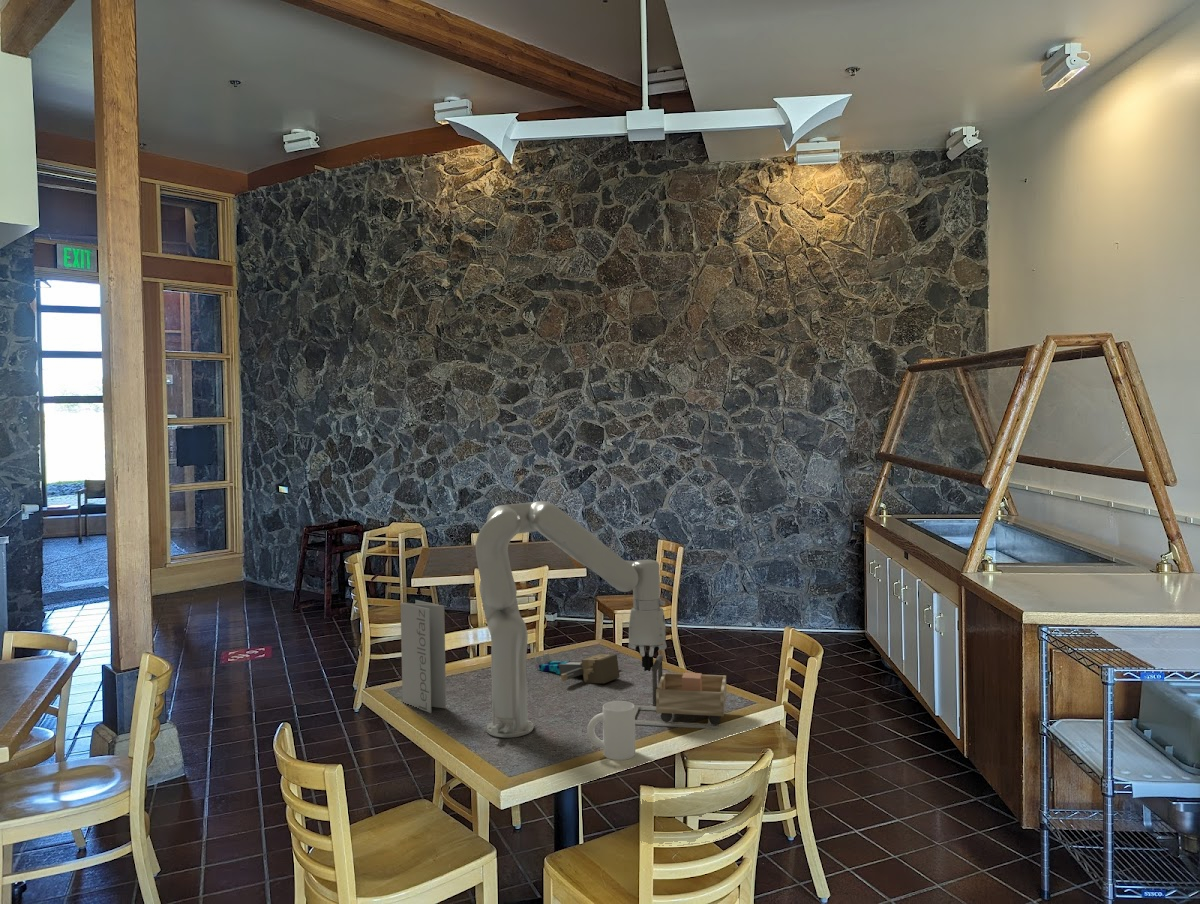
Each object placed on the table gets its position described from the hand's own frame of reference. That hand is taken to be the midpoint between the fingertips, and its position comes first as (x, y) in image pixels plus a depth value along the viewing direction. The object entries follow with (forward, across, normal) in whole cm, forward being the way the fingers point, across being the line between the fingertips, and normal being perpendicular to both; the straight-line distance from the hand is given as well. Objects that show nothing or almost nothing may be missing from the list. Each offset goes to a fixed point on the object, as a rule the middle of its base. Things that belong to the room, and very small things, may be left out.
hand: (647, 669), depth 229 cm
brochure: (+13, +67, 0) cm, 68 cm away
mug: (+13, +6, +28) cm, 32 cm away
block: (+8, -12, 0) cm, 15 cm away
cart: (+12, -12, 0) cm, 17 cm away
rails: (+13, -7, 0) cm, 15 cm away
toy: (+14, +30, -36) cm, 49 cm away
